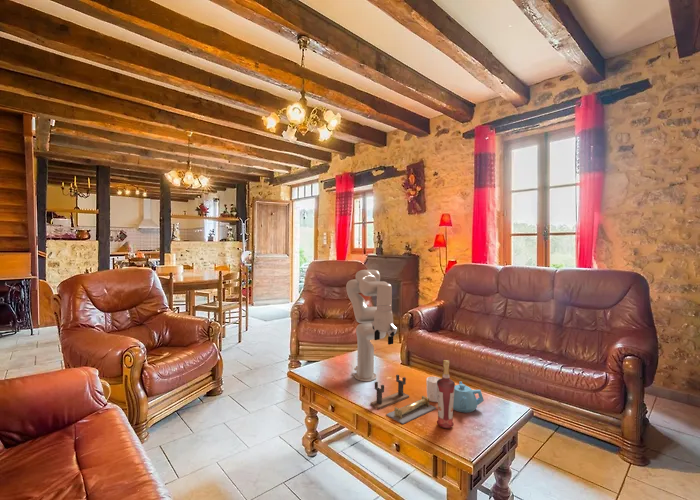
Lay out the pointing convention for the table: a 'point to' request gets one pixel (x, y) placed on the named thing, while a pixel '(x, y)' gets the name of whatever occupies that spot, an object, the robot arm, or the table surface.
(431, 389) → the white cup
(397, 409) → the rail
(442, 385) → the liquor
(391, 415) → the mat
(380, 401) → the rack
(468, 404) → the teapot
